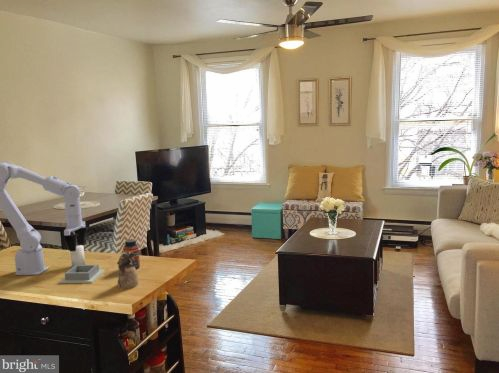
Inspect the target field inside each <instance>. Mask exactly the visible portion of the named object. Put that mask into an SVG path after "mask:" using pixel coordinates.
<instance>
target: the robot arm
mask: <svg viewBox="0 0 499 373" xmlns="http://www.w3.org/2000/svg"><path fill="white" fill-rule="evenodd" d="M18 178H19V179H20V178H21V179H24V180H26V181H29V182H32V183H34V184H37V185H41V186H42V188H43V190H45V191H47V192H50V193H52V194H55V195H57V196H60V197H63V198H64V201H65V202H64V210H65V219H66V220H65V221H66V227H65V229H64V230H63V234H62V235H61V237H62V239H63V240H64V241H65V243H66V245H67V247H68V250H69V252H70V251H76V245H83V246H84V245H85V242H86V235H87V232H88V230H89V227H88V226H86V221H85V220H83V216H82V204H81V199H80V188H79V186H78V185H76V183H71V182H70V181H64V180H61V179H59V178H58V176H56V175H53V176H52V175H51V176H47V177H45V176H43V175H40V174H38V173H36V172H34V171H32V170H30V169H27V168H25V167H24V166H23V167H22V166H20V165H17V164H14V163H10V162H8V161H0V211H1V212H2V213H3V215H4V216H5V218H6V219H7V221H8V222H9V223H10V225H11V226H12V228H13V229H14V231H15V234H16V237H17V239H18V241H19V245H20V248H21V249H18V250H17V251H16V252H15V255H14V264H15V273H14V275H16V276H20V275H21V276H22V275H23V276H26V275H27V276H30V275H31V276H32V275H33V276H35V275H41V274H42V273H44V272H45V271H46V270H47V269H49V268H50V266H45V262H44V252H43V246H42V245H41V243H40V242H41V241H42V235H41V233H40V232H39V231H38V230H36V229H35V228H34V227H33V226H32V225H31V224H29V222H28V221H27V220H26V218H25V216H24V215H23V214H22V212H21V211H20V209H19V208H18V206H17V205H16V203H15V201H13V199H12V197H11V196H10V195H9V193H8V191H7V190H6V186H7V184H8V180H10V179H11V180H12V179H13V180H14V179H18Z"/></svg>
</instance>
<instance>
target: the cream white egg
mask: <svg viewBox="0 0 499 373" xmlns="http://www.w3.org/2000/svg"><path fill="white" fill-rule="evenodd" d="M84 248H85V247H84V245H78V244H76V251H70V250H69V252H70V258H71V259H70V262H71V268H72V267H74V266H75V265H86V259H85V249H84Z"/></svg>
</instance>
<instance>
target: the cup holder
mask: <svg viewBox="0 0 499 373" xmlns="http://www.w3.org/2000/svg"><path fill="white" fill-rule="evenodd" d="M104 272H105V269H100V265H99V264H85V265H75V266H74V267H72V266H71V268H70V269H68V270H67V271H66V272H65V273H64V277H63V278H62V279H61V280H59V281H58V283H59V284H93V282H95V281H96V280H97V279H98V278H99V277H100V276H101V275H102V274H103V273H104Z"/></svg>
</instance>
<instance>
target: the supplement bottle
mask: <svg viewBox="0 0 499 373" xmlns="http://www.w3.org/2000/svg"><path fill="white" fill-rule="evenodd" d="M124 242H125V243H124V244H125V245H124V246H123V248H122V249H123V251H122V252H123V253H124V252H127V253H128V255H129V254H130V253H131V252H133V253H134V254H133V256H132V257H133V258H134V259H135V266H134V267H135V269H136V270H138V269H140V266H141V264H140V263H141V262H140V247H139V245H138V244H137V240H136V239H135V238H133V239H126V240H125V241H124ZM123 253H122V254H123ZM130 263H132V264H133V261H130Z"/></svg>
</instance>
